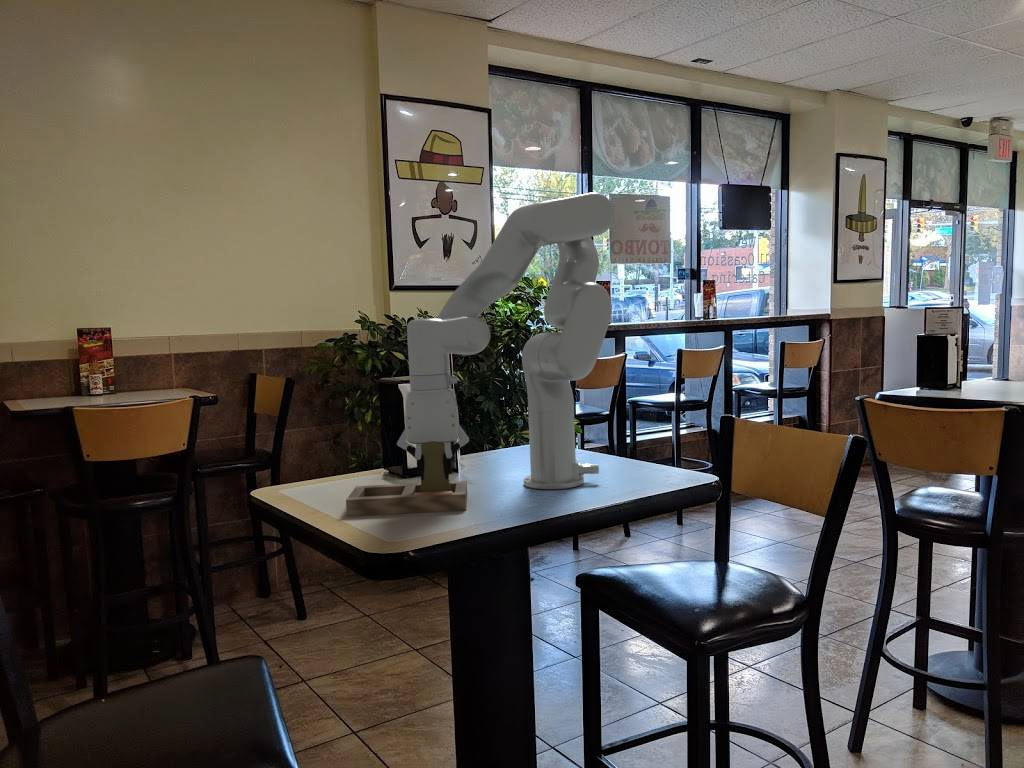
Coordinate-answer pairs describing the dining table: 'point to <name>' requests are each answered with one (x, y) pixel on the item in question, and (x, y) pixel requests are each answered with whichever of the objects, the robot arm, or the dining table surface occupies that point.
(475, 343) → the robot arm
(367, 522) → the dining table surface
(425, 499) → the caddy
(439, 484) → the olive tall rounded piece
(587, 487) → the dining table surface
